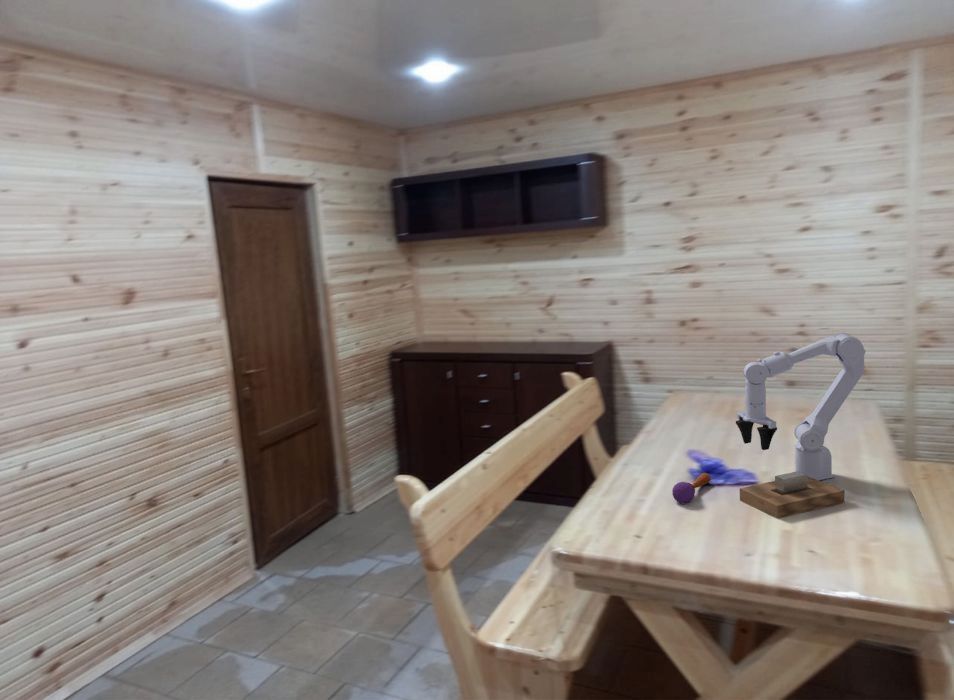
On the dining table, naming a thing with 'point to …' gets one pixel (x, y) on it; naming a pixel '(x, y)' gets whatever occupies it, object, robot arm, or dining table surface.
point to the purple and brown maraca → (689, 489)
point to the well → (791, 498)
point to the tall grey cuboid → (790, 483)
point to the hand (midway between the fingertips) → (756, 446)
